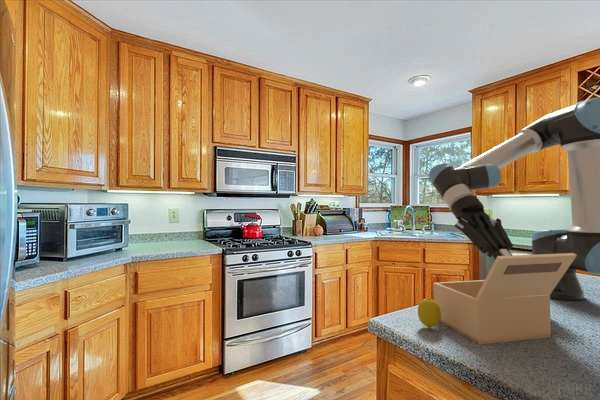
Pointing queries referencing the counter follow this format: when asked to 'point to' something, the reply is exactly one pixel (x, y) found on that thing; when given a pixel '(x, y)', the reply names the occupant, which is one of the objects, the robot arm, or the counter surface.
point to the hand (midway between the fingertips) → (517, 275)
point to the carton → (492, 313)
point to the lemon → (429, 312)
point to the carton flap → (524, 275)
